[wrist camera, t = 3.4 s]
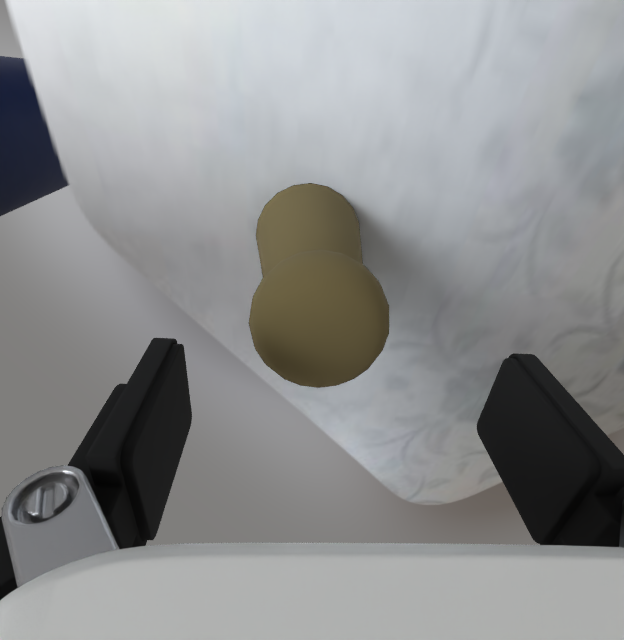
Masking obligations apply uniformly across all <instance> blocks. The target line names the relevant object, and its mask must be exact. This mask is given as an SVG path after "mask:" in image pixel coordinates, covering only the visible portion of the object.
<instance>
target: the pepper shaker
mask: <svg viewBox="0 0 624 640" xmlns="http://www.w3.org/2000/svg"><path fill="white" fill-rule="evenodd" d="M256 240H257V245H258V251H259V257H260V263H261V269H262V274H263V279H262V281H261V283H260V284H259V286H258V288H257V290H256V292H255V294H254V295H253V299H252V304H251V311H250V318H249V326H250V331H251V335H252V339H253V343H254V346H255V349H256V351H257V352H258V354H259V355H260V357H261V358H262V360H263V361H264V363H265V364H266V365H267V366H268V367H270V368H271V369H272V370H273V371H275V372H276V373H277V374H278V375H280V376H281V377H282V378H284V379H285V380H288V381H291V382H293V383H296V384H298V385H301V386H309V387H317V388H320V387H328V386H336V385H339V384H342V383H344V382H347V381H350V380H352V379H354V378H356V377H357V376H359V375H360V374H361V373H363V372H364V371H366V370H367V369H368V368H369V367H370V366H371V364H372V363H373V362H374V361H375V359H376V358H377V357H378V356H379V354H380V353H381V351H382V350H383V348H384V345H385V342H386V339H387V337H388V334H389V304H388V302H387V299H386V297H385V294H384V292H383V289H382V287H381V285H380V283H379V281H378V280H377V279H376V278H375V277H374V275H373V274H372V273H371V272H370V271H369V270H368V269H367V268H366V267H365V266H364V265H363V260H362V250H361V239H360V229H359V222H358V219H357V217H356V214H355V212H354V209H353V207H352V206H351V205H350V204H349V203H348V201H347V200H346V199H345V198H344V197H343V196H342V195H341V194H339V193H338V192H336V191H334V190H332V189H331V188H329V187H327V186H322V185H317V184H312V183H308V184H300V185H293V186H291V187H289V188H287V189H285V190H283V191H281V192H279V193H277V194H276V195H275V196H274V197H273V198H272V199H271V200H270V201H269V202H268V203H267V204H266V205H265V207H264V209H263V211H262V213H261V215H260V217H259V219H258V224H257V231H256Z"/></svg>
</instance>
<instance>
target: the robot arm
mask: <svg viewBox="0 0 624 640" xmlns="http://www.w3.org/2000/svg"><path fill="white" fill-rule="evenodd" d="M191 419H192V412H191V405H190V395H189V388H188V378H187V371H186V361H185V354H184V346H183V345H182V344H177V341H176V339H168V338H154V339H153V340H152V341H151V343H150V345H149V346H148V348H147V350H146V352H145V353H144V355H143V357H142V359H141V360H140V362H139V364H138V366H137V367H136V369H135V371H134V373H133V374H132V376H131V378H130V379H129V381H128V383H127V384H119V385H117V386H116V387H115V389H114V390H113V392H112V393H111V395H110V397H109V398H108V400H107V401H106V403H105V405H104V406H103V408H102V410H101V411H100V413H99V415H98V416H97V418H96V420H95V421H94V423H93V425H92V426H91V428H90V429H89V431H88V433H87V434H86V436H85V438H84V439H83V441H82V443H81V445H80V446H79V447H78V449H77V451H76V453H75V454H74V456H73V457H72V459H71V461H70V462H69V464H68V466H56V467H50V468H47V469H44V470H42V471H39V472H37V473H35V474H33V475H31V476H30V477H28V478H26V479H25V480H24V481H22V482H21V483H20V484H19V485H17V486H16V487H15V488H14V489H13V490H12V492H11V493H10V494H9V495H8V497H7V498H6V500H5V502H4V505H3V507H2V516H1V517H0V640H624V455H623V453H622V452H621V451H620V450H619V449H618V448H617V447H616V446H615V445H614V443H613V442H612V441H611V440H610V439H609V438H608V437H607V435H606V434H605V433H604V432H603V431H602V430H601V429H600V428H599V426H598V425H597V424H596V423H595V422H594V421H593V420H592V419H591V417H590V416H589V415H588V414H587V413H586V412H585V411H584V410H583V408H582V407H581V406H580V405H579V404H578V403H577V402H576V401H575V399H574V398H573V397H572V396H571V395H570V394H569V393H568V392H567V390H566V389H565V388H564V387H563V386H562V385H561V384H560V383H559V381H558V380H557V379H556V378H555V377H554V376H553V375H552V374H551V372H550V371H549V370H548V369H547V368H546V367H545V366H544V365H543V363H542V362H541V361H540V360H539V359H538V358H537V357H536V356H535V355H532V354H511V355H510V356H509V358H506V359H505V360H504V361H503V363H502V365H501V367H500V370H499V372H498V375H497V377H496V379H495V382H494V384H493V386H492V389H491V391H490V394H489V396H488V398H487V401H486V403H485V406H484V408H483V410H482V413H481V415H480V418H479V420H478V423H477V432H478V435H479V437H480V439H481V441H482V443H483V444H484V446H485V448H486V450H487V452H488V454H489V456H490V458H491V460H492V462H493V464H494V466H495V467H496V469H497V471H498V473H499V475H500V477H501V479H502V481H503V483H504V485H505V487H506V488H507V490H508V492H509V494H510V496H511V498H512V500H513V502H514V504H515V506H516V508H517V510H518V511H519V513H520V515H521V517H522V519H523V521H524V523H525V525H526V527H527V529H528V531H529V533H530V534H531V536H532V538H533V540H535V542H537V543H540V545H500V544H491V545H490V544H408V543H406V544H404V543H403V544H402V543H394V544H393V543H200V544H199V543H197V544H196V543H193V544H168V545H150V546H145V545H146V542H147V540H153V539H154V538H155V536H156V533H157V531H158V528H159V524H160V521H161V518H162V515H163V511H164V508H165V505H166V502H167V499H168V496H169V493H170V489H171V486H172V483H173V480H174V477H175V474H176V470H177V467H178V464H179V461H180V458H181V454H182V451H183V448H184V445H185V442H186V438H187V435H188V432H189V429H190V426H191Z"/></svg>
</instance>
